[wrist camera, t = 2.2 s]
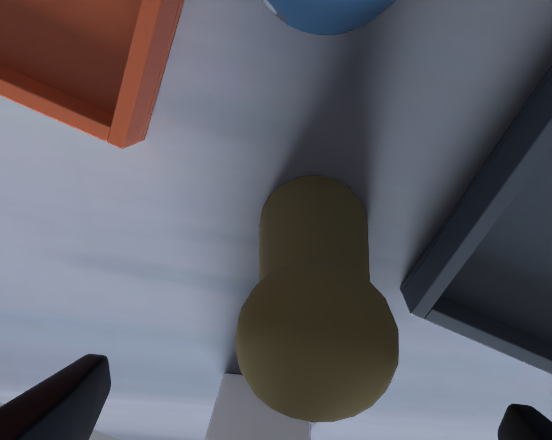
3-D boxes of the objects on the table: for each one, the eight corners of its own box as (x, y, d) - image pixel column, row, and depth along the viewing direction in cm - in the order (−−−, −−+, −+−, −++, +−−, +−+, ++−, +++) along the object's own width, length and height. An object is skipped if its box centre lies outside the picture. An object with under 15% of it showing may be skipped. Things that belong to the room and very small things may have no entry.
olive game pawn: (387, 198, 19) (471, 335, 9) (341, 288, 22) (369, 477, 12) (280, 158, 19) (247, 256, 9) (245, 254, 21) (188, 418, 11)
